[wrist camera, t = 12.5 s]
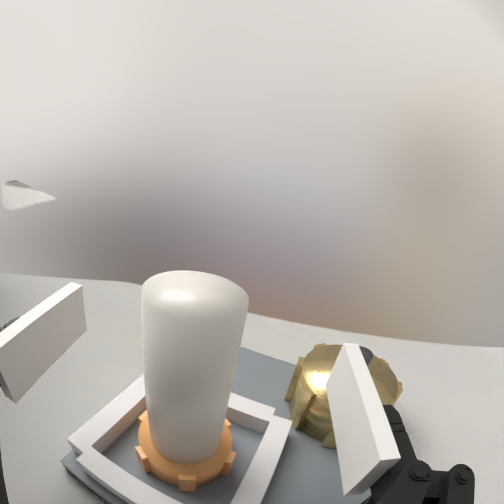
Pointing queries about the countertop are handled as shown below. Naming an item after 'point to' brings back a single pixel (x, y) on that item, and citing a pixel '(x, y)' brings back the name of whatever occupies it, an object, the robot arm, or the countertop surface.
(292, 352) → the countertop surface
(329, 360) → the sun gear
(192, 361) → the white cylinder orange base
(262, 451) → the carrier plate
